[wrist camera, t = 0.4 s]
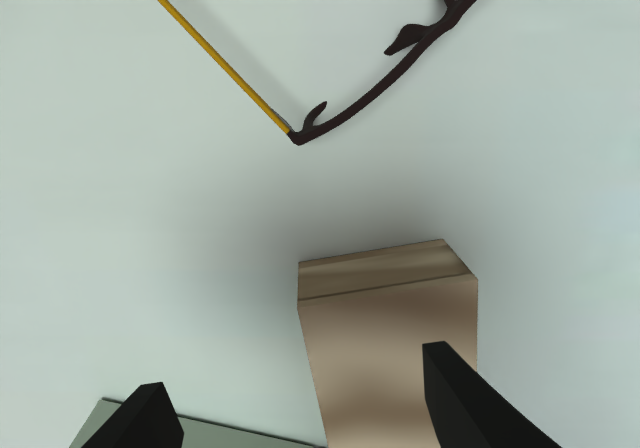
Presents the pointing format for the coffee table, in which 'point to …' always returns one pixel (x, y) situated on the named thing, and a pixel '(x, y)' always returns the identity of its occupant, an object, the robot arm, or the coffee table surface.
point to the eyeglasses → (409, 34)
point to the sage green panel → (188, 433)
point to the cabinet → (383, 338)
